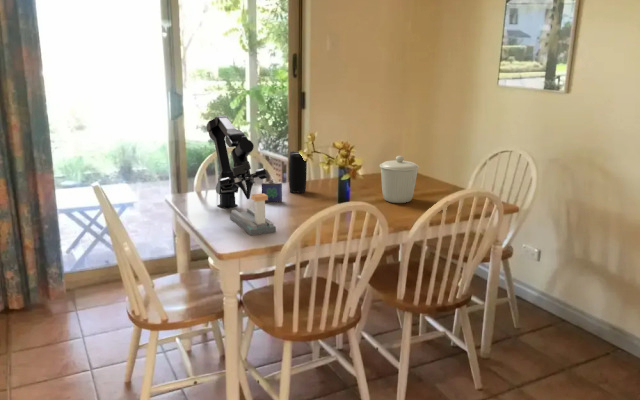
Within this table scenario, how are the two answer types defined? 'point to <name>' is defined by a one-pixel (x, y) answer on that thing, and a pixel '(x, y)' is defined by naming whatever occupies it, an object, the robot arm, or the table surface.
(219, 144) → the robot arm
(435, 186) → the table surface
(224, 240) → the table surface
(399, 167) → the canister
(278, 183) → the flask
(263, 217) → the slider handle
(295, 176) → the portable speaker
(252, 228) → the fader track
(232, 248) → the table surface
